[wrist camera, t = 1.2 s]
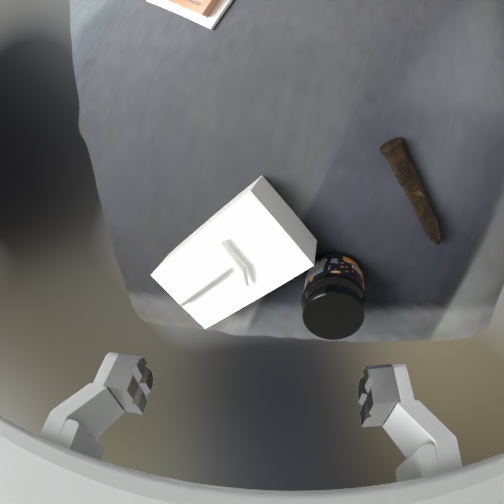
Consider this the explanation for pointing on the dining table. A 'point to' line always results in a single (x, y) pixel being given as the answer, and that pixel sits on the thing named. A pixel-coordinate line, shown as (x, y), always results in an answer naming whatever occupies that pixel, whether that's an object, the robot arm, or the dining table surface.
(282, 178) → the dining table surface
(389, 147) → the hand tool
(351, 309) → the supplement container
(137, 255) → the dining table surface
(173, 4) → the socket
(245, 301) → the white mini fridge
